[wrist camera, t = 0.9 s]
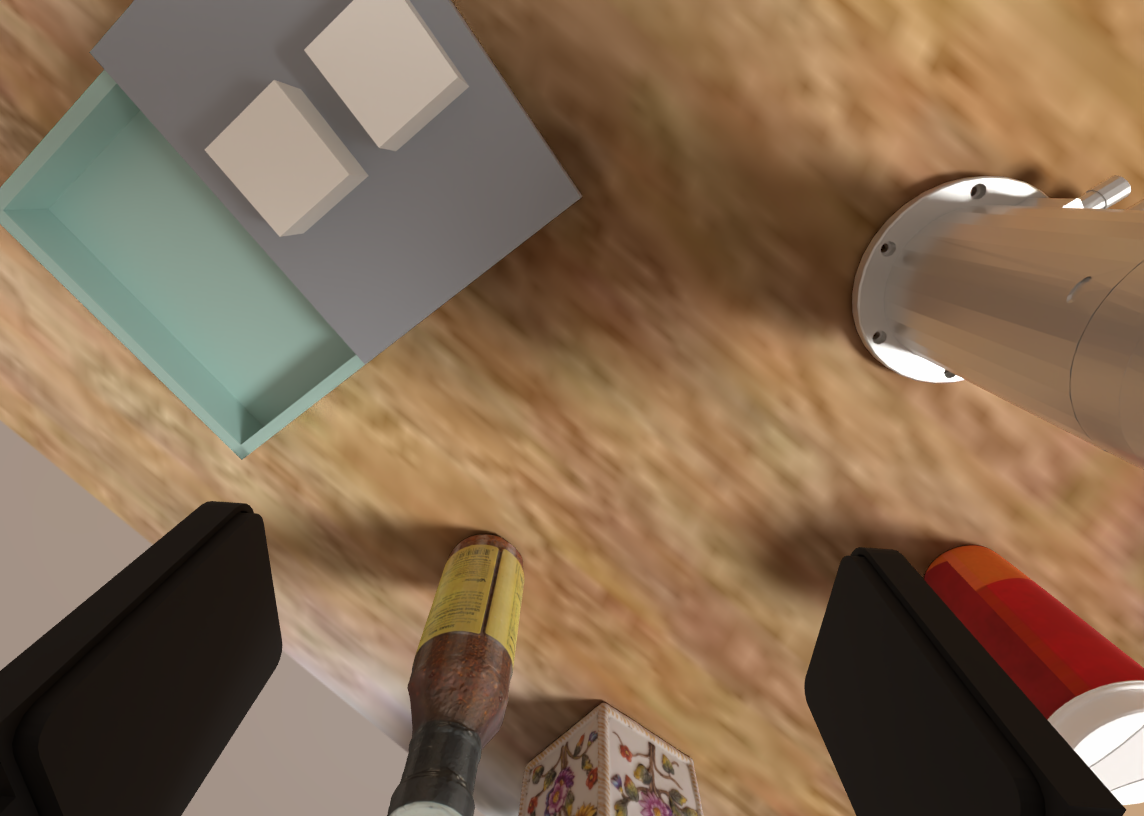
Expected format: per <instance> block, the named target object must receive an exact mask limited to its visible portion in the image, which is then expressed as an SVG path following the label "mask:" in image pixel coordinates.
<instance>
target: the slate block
mask: <svg viewBox="0 0 1144 816" xmlns="http://www.w3.org/2000/svg"><path fill="white" fill-rule="evenodd" d="M352 1H353V0H134V1H133V2H132V4H131V5H130V6H129V7H128V8H127V9H126V11H125V12H124V13H123V14H122V15H121V16H120V18H119V19H118V20H117V21H116V22H115V23H114V24H113V26H112V27H111V28H110V29H109V30H108V31H107V33H106V34H105V35H104V36H103V37H102V38H101V40H100V41H99V42H98V43H97V44H96V45H95V47H94V48H93V49H92V50H91V51H90V52H89V53H90V54H91V55H92V56H93V57H94V58H95V59H96V60H97V62H98V63H99V64H100V65H101V66H102V67H103V68H104V70H105V71H106V72H107V73H108V74H109V75H110V76H111V77H112V79H113V80H114V81H115V82H116V83H117V84H118V85H119V87H120V88H121V89H122V90H123V91H124V92H125V93H126V94H127V96H128V97H129V98H130V99H131V100H132V101H133V102H134V103H135V105H136V106H137V107H138V108H139V109H140V110H141V111H142V113H143V114H144V115H145V116H146V117H147V118H148V119H149V120H150V122H151V123H152V124H153V125H154V126H155V127H156V128H157V130H158V131H159V132H160V133H161V134H162V135H163V136H164V137H165V139H166V140H167V141H168V142H169V143H170V144H171V145H172V147H173V148H174V149H175V150H176V151H177V152H178V153H179V154H180V156H181V157H182V158H183V159H184V160H185V161H186V162H187V164H188V165H189V166H190V167H191V168H192V169H193V170H194V171H195V173H196V174H197V175H198V176H199V177H200V178H201V179H202V181H203V182H204V183H205V184H206V185H207V186H208V187H209V188H210V190H211V191H212V192H213V193H214V194H215V195H216V196H217V198H218V199H219V200H220V201H221V202H222V203H223V204H224V205H225V207H226V208H227V209H228V210H229V211H230V212H231V213H232V215H233V216H234V217H235V218H236V219H237V220H238V221H239V222H240V224H241V225H242V226H243V227H244V228H245V229H246V230H247V232H248V233H249V234H250V235H251V236H252V237H253V238H254V239H255V241H256V242H257V243H258V244H259V245H260V246H261V247H262V249H263V250H264V251H265V252H266V253H267V254H268V255H269V256H270V258H271V259H272V260H273V261H274V262H275V263H276V264H277V266H278V267H279V268H280V269H281V270H282V271H283V272H284V273H285V275H286V276H287V277H288V278H289V279H290V280H291V281H292V283H293V284H294V285H295V286H296V287H297V288H298V289H299V290H300V292H301V293H302V294H303V295H304V296H305V297H306V298H307V300H308V301H309V302H310V303H311V304H312V305H313V306H314V307H315V309H316V310H317V311H318V312H319V313H320V314H321V315H322V317H323V318H324V319H325V320H326V321H327V322H328V323H329V324H330V326H331V327H332V328H333V329H334V330H335V331H336V332H337V334H338V335H339V336H340V337H341V338H342V339H343V340H344V341H345V343H346V344H347V345H348V346H349V347H350V348H351V349H352V351H353V352H354V353H355V354H356V355H357V356H358V357H359V358H360V360H361V361H362V362H363V363H364V364H366V363H368V362H369V361H370V360H372V359H373V358H374V357H375V356H377V355H378V354H379V353H381V352H382V351H383V350H385V349H386V348H387V347H389V346H390V345H391V344H393V343H394V342H395V341H396V340H398V339H399V338H400V337H402V336H403V335H404V334H405V333H407V332H408V331H409V330H411V329H412V328H413V327H415V326H416V325H417V324H418V323H420V322H421V321H422V320H424V319H425V318H426V317H428V316H429V315H430V314H431V313H433V312H434V311H435V310H437V309H438V308H439V307H440V306H442V305H443V304H444V303H446V302H447V301H448V300H450V299H451V298H452V297H453V296H455V295H456V294H457V293H459V292H460V291H461V290H462V289H464V288H465V287H466V286H468V285H469V284H470V283H472V282H473V281H474V280H475V279H477V278H478V277H479V276H481V275H482V274H483V273H484V272H486V271H487V270H488V269H490V268H491V267H492V266H494V265H495V264H496V263H497V262H499V261H500V260H501V259H503V258H504V257H505V256H506V255H508V254H509V253H510V252H512V251H513V250H514V249H516V248H517V247H518V246H519V245H521V244H522V243H523V242H525V241H526V240H527V239H528V238H530V237H531V236H532V235H534V234H535V233H536V232H538V231H539V230H540V229H541V228H543V227H544V226H545V225H547V224H548V223H549V222H550V221H552V220H553V219H554V218H556V217H557V216H558V215H560V214H561V213H562V212H563V211H565V210H566V209H567V208H569V207H570V206H571V205H572V204H574V203H575V202H576V201H578V200H579V199H580V198H582V197H583V196H582V195H581V193H580V192H579V190H578V189H577V187H576V186H575V184H574V183H573V181H572V180H571V178H570V177H569V175H568V174H567V172H566V171H565V169H564V168H563V166H562V165H561V163H560V162H559V161H558V159H557V158H556V156H555V155H554V153H553V152H552V150H551V149H550V147H549V146H548V144H547V143H546V141H545V140H544V138H543V137H542V135H541V134H540V132H539V131H538V129H537V128H536V126H535V125H534V123H533V122H532V120H531V119H530V117H529V116H528V114H527V113H526V111H525V110H524V108H523V107H522V105H521V104H520V102H519V101H518V99H517V98H516V96H515V95H514V93H513V92H512V90H511V89H510V87H509V86H508V84H507V83H506V81H505V80H504V79H503V77H502V76H501V74H500V73H499V71H498V70H497V68H496V67H495V65H494V64H493V62H492V61H491V59H490V58H489V56H488V55H487V53H486V52H485V50H484V49H483V47H482V46H481V44H480V43H479V41H478V40H477V38H476V37H475V35H474V34H473V32H472V31H471V29H470V28H469V26H468V25H467V23H466V22H465V20H464V19H463V17H462V16H461V14H460V13H459V11H458V10H457V8H456V7H455V5H454V4H453V2H452V1H451V0H410V1H411V3H412V4H413V6H414V7H415V9H416V10H417V12H418V13H419V14H420V16H421V17H422V19H423V20H424V22H425V23H426V25H427V26H428V27H429V29H430V30H431V32H432V33H433V35H434V36H435V38H436V39H437V40H438V42H439V43H440V45H441V46H442V48H443V49H444V51H445V52H446V53H447V55H448V56H449V58H450V59H451V61H452V62H453V64H454V65H455V66H456V68H457V69H458V71H459V72H460V74H461V75H462V77H463V78H464V79H465V81H466V82H467V84H468V85H469V87H468V88H467V89H466V90H465V91H464V92H463V93H462V94H460V95H459V96H458V97H457V98H456V99H455V100H454V101H452V102H451V103H450V104H449V105H448V106H447V107H446V108H445V109H443V110H442V111H441V112H440V113H439V114H438V115H437V116H436V117H434V118H433V119H432V120H431V121H430V122H429V123H428V124H427V125H425V126H424V127H423V128H422V129H421V130H420V131H419V132H417V133H416V134H415V135H414V136H413V137H412V138H411V139H410V140H408V141H407V142H406V143H405V144H404V145H403V146H402V147H401V148H399V149H398V150H397V151H392V150H387V149H382V148H379V147H378V146H377V145H376V143H375V142H374V141H373V139H372V138H371V137H370V136H369V134H368V133H367V132H366V130H365V129H364V128H363V126H362V125H361V124H360V122H359V121H358V120H357V119H356V117H355V116H354V115H353V113H352V112H351V111H350V109H349V108H348V107H347V106H346V104H345V103H344V102H343V100H342V99H341V98H340V96H339V95H338V94H337V92H336V91H335V90H334V89H333V87H332V86H331V85H330V83H329V82H328V81H327V79H326V78H325V77H324V76H323V74H322V73H321V72H320V70H319V69H318V68H317V66H316V65H315V64H314V62H313V61H312V60H311V59H310V57H309V56H308V55H307V53H306V52H305V51H304V49H305V48H306V47H307V46H308V45H309V44H310V43H311V42H312V41H313V40H314V39H315V38H316V37H317V36H318V35H319V34H320V33H321V32H322V31H323V30H324V29H325V28H326V27H327V26H328V25H329V24H330V23H331V22H332V21H333V20H334V19H335V18H336V17H337V16H338V15H339V14H340V13H341V12H342V11H343V10H344V9H345V8H346V7H347V6H348V5H349V4H350V3H351V2H352ZM273 80H276V81H279V82H282V83H285V84H288V85H290V86H293V87H296V88H299V89H301V90H302V91H303V93H304V94H305V95H306V96H307V98H308V99H309V100H310V102H311V103H312V104H313V105H314V107H315V108H316V109H317V110H318V112H319V113H320V114H321V116H322V117H323V118H324V119H325V121H326V122H327V123H328V124H329V126H330V127H331V128H332V130H333V131H334V132H335V133H336V135H337V136H338V137H339V139H340V140H341V141H342V142H343V144H344V145H345V146H346V147H347V149H348V150H349V151H350V153H351V154H352V155H353V156H354V158H355V159H356V160H357V161H358V163H359V164H360V165H361V167H362V168H363V169H364V170H365V172H366V173H367V174H368V175H369V176H368V177H367V178H366V179H364V180H363V181H362V182H361V183H360V184H359V185H358V186H357V187H355V188H354V189H353V190H352V191H351V192H350V193H349V194H348V195H346V196H345V197H344V198H343V199H342V200H341V201H340V202H339V203H337V204H336V205H335V206H334V207H333V208H332V209H331V210H329V211H328V212H327V213H326V214H325V215H324V216H323V217H322V218H320V219H319V220H318V221H317V222H316V223H315V224H314V225H313V226H311V227H310V228H309V229H308V230H307V231H306V232H305V233H303V234H296V235H289V236H282V237H279V235H278V234H277V233H276V232H275V231H274V230H273V228H272V227H271V226H270V225H269V224H268V223H267V222H266V220H265V219H264V218H263V217H262V216H261V215H260V213H259V212H258V211H257V210H256V209H255V208H254V207H253V205H252V204H251V203H250V202H249V201H248V200H247V198H246V197H245V196H244V195H243V194H242V193H241V192H240V190H239V189H238V188H237V187H236V186H235V185H234V183H233V182H232V181H231V180H230V179H229V178H228V176H227V175H226V174H225V173H224V172H223V171H222V170H221V168H220V167H219V166H218V165H217V164H216V163H215V161H214V160H213V159H212V158H211V157H210V156H209V155H208V153H207V152H206V151H205V149H206V148H207V147H208V146H209V145H210V144H211V143H212V142H213V141H214V140H215V139H216V138H217V137H218V136H219V135H220V134H221V133H222V132H223V131H224V130H225V129H226V128H227V127H228V126H229V125H230V124H231V123H232V122H233V121H234V120H235V119H236V118H237V117H238V116H239V115H240V114H241V113H242V112H243V111H244V110H245V109H246V108H247V107H248V106H249V105H250V104H251V103H252V102H253V101H254V100H255V99H256V98H257V96H258V95H259V94H260V93H261V92H262V91H263V90H264V89H265V88H266V87H267V86H268V85H269V84H270V83H271V82H272V81H273Z"/></svg>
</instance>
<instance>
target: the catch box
mask: <svg viewBox="0 0 1144 816" xmlns="http://www.w3.org/2000/svg"><path fill="white" fill-rule="evenodd" d="M0 224H1V225H2V226H3V227H4V228H5V229H6V230H7V231H8V232H9V233H10V234H11V235H12V236H13V237H14V238H15V239H16V240H17V241H18V242H19V243H20V244H21V245H22V246H23V247H24V248H25V249H26V250H27V251H28V252H30V253H31V254H32V255H33V256H34V257H35V258H36V259H37V260H38V261H39V262H40V263H41V264H42V265H43V266H44V267H45V268H46V269H47V270H48V271H49V272H50V273H51V274H52V275H53V276H54V277H55V278H56V279H57V280H58V281H59V282H60V283H61V284H62V285H63V286H64V287H65V288H66V289H67V290H68V291H69V292H70V293H71V294H73V295H74V296H75V297H76V298H77V299H78V300H79V301H80V302H81V303H82V304H83V305H84V306H85V307H86V308H87V309H88V310H89V311H90V312H91V313H92V314H93V315H94V316H95V317H96V318H97V319H98V320H99V321H100V322H101V323H102V324H103V325H104V326H105V327H106V328H107V329H108V330H109V331H110V332H111V333H112V334H113V335H114V336H116V337H117V338H118V339H119V340H120V341H121V342H122V343H123V344H124V345H125V346H126V347H127V348H128V349H129V350H130V351H131V352H132V353H133V354H134V355H135V356H136V357H137V358H138V359H139V360H140V361H141V362H142V363H143V364H144V365H145V366H146V367H147V368H148V369H149V370H150V371H151V372H152V373H153V374H154V375H155V376H156V377H157V378H159V379H160V380H161V381H162V382H163V383H164V384H165V385H166V386H167V387H168V388H169V389H170V390H171V391H172V392H173V393H174V394H175V395H176V396H177V397H178V398H179V399H180V400H181V401H182V402H183V403H184V404H185V405H186V406H187V407H188V408H189V409H190V410H191V411H192V412H193V413H194V414H195V415H196V416H197V417H198V418H199V419H200V420H202V421H203V422H204V423H205V424H206V425H207V426H208V427H209V428H210V429H211V430H212V431H213V432H214V433H215V434H216V435H217V436H218V437H219V438H220V439H221V440H222V441H223V442H224V443H225V444H226V445H227V446H228V447H229V448H230V449H231V450H232V451H233V452H234V453H235V454H236V455H237V456H238V457H239V458H240V459H241V460H242V459H243V458H245V457H246V456H247V455H249V454H250V453H251V452H253V451H254V450H255V449H257V448H258V447H259V446H260V445H262V444H263V443H264V442H266V441H267V440H268V439H270V438H271V437H272V436H273V435H275V434H276V433H277V432H279V431H280V430H281V429H283V428H284V427H285V426H286V425H288V424H289V423H290V422H292V421H293V420H294V419H295V418H297V417H298V416H299V415H301V414H302V413H303V412H305V411H306V410H307V409H308V408H310V407H311V406H312V405H314V404H315V403H316V402H317V401H319V400H320V399H321V398H323V397H324V396H325V395H327V394H328V393H329V392H330V391H332V390H333V389H334V388H336V387H337V386H338V385H339V384H341V383H342V382H343V381H345V380H346V379H347V378H349V377H350V376H351V375H352V374H354V373H355V372H356V371H358V370H359V369H360V368H361V367H363V366H364V365H365V364H364V363H363V362H362V361H361V360H360V358H359V357H358V356H357V355H356V354H355V353H354V352H353V351H352V349H351V348H350V347H349V346H348V345H347V344H346V343H345V341H344V340H343V339H342V338H341V337H340V336H339V335H338V334H337V332H336V331H335V330H334V329H333V328H332V327H331V326H330V324H329V323H328V322H327V321H326V320H325V319H324V318H323V317H322V315H321V314H320V313H319V312H318V311H317V310H316V309H315V307H314V306H313V305H312V304H311V303H310V302H309V301H308V300H307V298H306V297H305V296H304V295H303V294H302V293H301V292H300V290H299V289H298V288H297V287H296V286H295V285H294V284H293V283H292V281H291V280H290V279H289V278H288V277H287V276H286V275H285V273H284V272H283V271H282V270H281V269H280V268H279V267H278V266H277V264H276V263H275V262H274V261H273V260H272V259H271V258H270V256H269V255H268V254H267V253H266V252H265V251H264V250H263V249H262V247H261V246H260V245H259V244H258V243H257V242H256V241H255V239H254V238H253V237H252V236H251V235H250V234H249V233H248V232H247V230H246V229H245V228H244V227H243V226H242V225H241V224H240V222H239V221H238V220H237V219H236V218H235V217H234V216H233V215H232V213H231V212H230V211H229V210H228V209H227V208H226V207H225V205H224V204H223V203H222V202H221V201H220V200H219V199H218V198H217V196H216V195H215V194H214V193H213V192H212V191H211V190H210V188H209V187H208V186H207V185H206V184H205V183H204V182H203V181H202V179H201V178H200V177H199V176H198V175H197V174H196V173H195V171H194V170H193V169H192V168H191V167H190V166H189V165H188V164H187V162H186V161H185V160H184V159H183V158H182V157H181V156H180V154H179V153H178V152H177V151H176V150H175V149H174V148H173V147H172V145H171V144H170V143H169V142H168V141H167V140H166V139H165V137H164V136H163V135H162V134H161V133H160V132H159V131H158V130H157V128H156V127H155V126H154V125H153V124H152V123H151V122H150V120H149V119H148V118H147V117H146V116H145V115H144V114H143V113H142V111H141V110H140V109H139V108H138V107H137V106H136V105H135V103H134V102H133V101H132V100H131V99H130V98H129V97H128V96H127V94H126V93H125V92H124V91H123V90H122V89H121V88H120V87H119V85H118V84H117V83H116V82H115V81H114V80H113V79H112V77H111V76H110V75H109V74H108V73H107V72H106V71H105V70H103V72H102V73H101V74H100V75H99V76H98V77H97V78H96V80H95V81H94V82H93V83H92V84H91V85H90V86H89V87H88V89H87V90H86V91H85V92H84V93H83V94H82V95H81V97H80V98H79V99H78V100H77V101H76V102H75V103H74V104H73V106H72V107H71V108H70V109H69V110H68V111H67V112H66V114H65V115H64V116H63V117H62V118H61V119H60V120H59V122H58V123H57V124H56V125H55V126H54V127H53V128H52V129H51V131H50V132H49V133H48V134H47V135H46V136H45V137H44V139H43V140H42V141H41V142H40V143H39V144H38V145H37V146H36V148H35V149H34V150H33V151H32V152H31V153H30V154H29V156H28V157H27V158H26V159H25V160H24V161H23V162H22V163H21V165H20V166H19V167H18V168H17V169H16V170H15V171H14V173H13V174H12V175H11V176H10V177H9V178H8V179H7V180H6V182H5V183H4V184H3V185H2V186H1V187H0ZM379 354H380V353H379ZM375 357H376V356H375ZM370 361H371V360H370ZM366 364H367V363H366Z"/></svg>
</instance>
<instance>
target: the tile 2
mask: <svg viewBox="0 0 1144 816" xmlns="http://www.w3.org/2000/svg"><path fill="white" fill-rule="evenodd" d="M304 51H305V52H306V53H307V55H308V56H309V57H310V59H311V60H312V61H313V62H314V64H315V65H316V66H317V68H318V69H319V70H320V72H321V73H322V74H323V76H324V77H325V78H326V79H327V81H328V82H329V83H330V85H331V86H332V87H333V89H334V90H335V91H336V92H337V94H338V95H339V96H340V98H341V99H342V100H343V102H344V103H345V104H346V106H347V107H348V108H349V109H350V111H351V112H352V113H353V115H354V116H355V117H356V119H357V120H358V121H359V122H360V124H361V125H362V126H363V128H364V129H365V130H366V132H367V133H368V134H369V136H370V137H371V138H372V139H373V141H374V142H375V143H376V145H377V146H378V147H379V148H382V149H387V150H392V151H397V150H398V149H399V148H401V147H402V146H403V145H404V144H405V143H406V142H407V141H408V140H410V139H411V138H412V137H413V136H414V135H415V134H416V133H417V132H419V131H420V130H421V129H422V128H423V127H424V126H425V125H427V124H428V123H429V122H430V121H431V120H432V119H433V118H434V117H436V116H437V115H438V114H439V113H440V112H441V111H442V110H443V109H445V108H446V107H447V106H448V105H449V104H450V103H451V102H452V101H454V100H455V99H456V98H457V97H458V96H459V95H460V94H462V93H463V92H464V91H465V90H466V89H467V88H468V87H469V85H468V84H467V82H466V81H465V79H464V78H463V77H462V75H461V74H460V72H459V71H458V69H457V68H456V66H455V65H454V64H453V62H452V61H451V59H450V58H449V56H448V55H447V53H446V52H445V51H444V49H443V48H442V46H441V45H440V43H439V42H438V40H437V39H436V38H435V36H434V35H433V33H432V32H431V30H430V29H429V27H428V26H427V25H426V23H425V22H424V20H423V19H422V17H421V16H420V14H419V13H418V12H417V10H416V9H415V7H414V6H413V4H412V3H411V1H410V0H353V1H352V2H351V3H350V4H349V5H348V6H347V7H346V8H345V9H344V10H343V11H342V12H341V13H340V14H339V15H338V16H337V17H336V18H335V19H334V20H333V21H332V22H331V23H330V24H329V25H328V26H327V27H326V28H325V29H324V30H323V31H322V32H321V33H320V34H319V35H318V36H317V37H316V38H315V39H314V40H313V41H312V42H311V43H310V44H309V45H308V46H307V47H306V48H305V49H304Z"/></svg>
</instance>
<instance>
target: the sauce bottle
mask: <svg viewBox="0 0 1144 816" xmlns="http://www.w3.org/2000/svg"><path fill="white" fill-rule="evenodd" d="M523 586H524V573H523V560H522V557H521V555H520V553H519V552H518V551H517V550H516V548H515V547H514V546H512V545H511V544H510V543H509V542H507V541H505V540H504V539H503V538H501V537H499V536H495V535H487V534H485V535H474V536H471V537H468V538H466V539H464V540H462V541H461V542H460V543H459V544H458V545H457V546H456V547H455V548H454V550H453V551H452V552H451V554H450V556H449V559H448V561H447V563H446V565H445V567H444V570H443V573H442V576H441V579H440V582H439V585H438V588H437V591H436V594H435V598H434V601H433V604H432V607H431V610H430V613H429V616H428V619H427V622H426V625H425V628H424V631H423V634H422V637H421V640H420V643H419V646H418V649H417V652H416V655H415V659H414V663H413V667H412V673H411V677H410V681H409V684H408V691H409V696H410V702H411V713H412V725H413V731H412V739H411V741H410V744H409V754H408V758H407V762H406V766H405V769H404V772H403V775H402V779H401V782H400V784H399V785H398V787H397V788H396V790H395V792H394V793H393V795H392V797H391V802H390V806H389V810H388V815H387V816H473V814H474V809H475V805H474V800H473V796H472V795H473V790H474V784H475V778H476V772H477V765H478V763H479V761H480V758H481V750H482V749H483V748H484V747H485V746H486V744H487V743H488V742H489V741H490V740H491V739H492V738H493V737H494V736H495V734H496V733H497V732H498V731H499V729H500V727H501V725H502V723H503V719H504V715H505V711H506V707H507V703H508V700H509V697H508V692H509V685H510V680H511V677H512V673H513V666H514V658H515V649H516V641H517V632H518V624H519V616H520V609H521V602H522V594H523Z"/></svg>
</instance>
